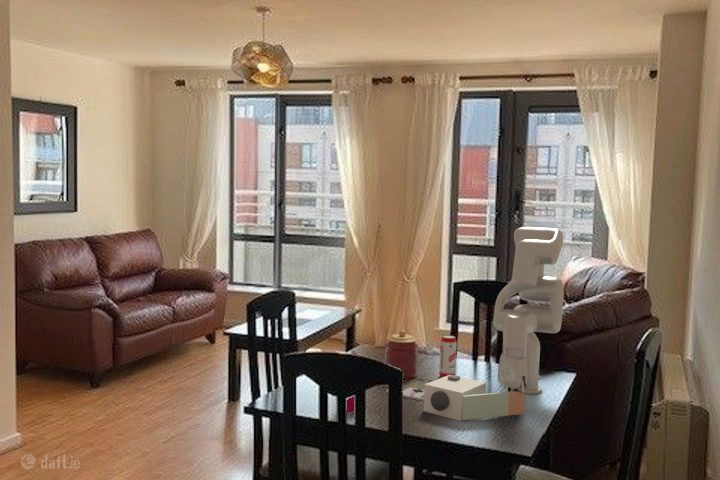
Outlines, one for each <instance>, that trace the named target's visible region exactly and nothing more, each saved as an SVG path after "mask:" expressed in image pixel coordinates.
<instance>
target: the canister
mask: <svg viewBox="0 0 720 480" xmlns="http://www.w3.org/2000/svg"><path fill="white" fill-rule="evenodd" d="M384 345H385V347H386V350H385V352H384V355H385V356H384V364H385V363H387V364H390V365H392V366H395V367H397V368H400V369H401V370H402V371H403V373H404V380H405V379H406V380H407V379H412V378H416V377H417V375H418V361H419V360H418V359H419V358H418V357H419V353H418V348H419V344H417V338H416V337H414V336H413V335H410V334H408V333H407V332H406V331H405V330H403V329H401V330H399V333H394V334H391V335H390V336H388V337H387V342H385V344H384Z"/></svg>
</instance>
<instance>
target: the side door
mask: <svg viewBox="0 0 720 480" xmlns="http://www.w3.org/2000/svg"><path fill="white" fill-rule="evenodd" d="M525 400H526V394H525V393H520V392H519V391H510V392H506V391H502V392H501V391H500V392H492V393H491V392H489V393H488V392H486V394H476V395H465V396H463V401H462V421H468V420H477V419H487V418H496V417H497V418H498V417H506V416H507V417H508V416H515V415H524V414H525V402H526V401H525Z"/></svg>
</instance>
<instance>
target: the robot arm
mask: <svg viewBox="0 0 720 480" xmlns="http://www.w3.org/2000/svg"><path fill="white" fill-rule="evenodd" d="M513 241H514V246H515V252H514V259H513V268H512V274H511V275H512V276H511V277H512V278H511V280H510V282H508V284H506V285H505V286H504V287H503V288H502V289H501V290H500V292H499V293H498V295H497V298H496V300H495V305H494V312H493V319H492V321H493V322H492V323H493V326H494V329H496V330H497V331H500V332H503V338H502V339H503V340H502V341H503V342H502V353H501V355H500V358H499V362H498V370H497V371H498V372H497V382H498V383H499V384H501V386H502V387H503V388H504V390H505V392H510V391H519V392H520V393H525V395H538V394H541V393H542V392H543V387H542V386H540V385H539V381H540V380H541V379H542V377H541V375H540V374H539V372H540V356H541V355H540V352H541V344H540V341H539V337H537V335H536V334H535V333H545V334H546V333H547V334H557V333H558V332H560V330H561V327H562V323H563V322H562V321H563V309H564V308H563V307H564V295H565V294H564V292H565V291H564V283H563V280H562V279H560V278H559V277H555V276H545V273H544V272H545V265H548V266H549V265H550V266H551V265H553V266H554V265H555V264H556V263H557V262H558V260H559V258H560V253H561V251H562V247H563V243H564V235H563V232H562V231H561V229H559V228H552V227H536V226H535V227H533V226H524V227H523V226H521V227H518V228H516V229H515V230H514V233H513ZM516 294H518V296H519V298H520V299H521V300H522V301H523V300H524V301H526V302H527V301H528V302H534V303H535V302H537V303H547V304H548V305H549V306H548V305H547V306H546V305H535V304H525V303H524V304H518V305H516V306H515V307H514V308H513V309H505V304H506V302H507V300H508V299H509V298H510V297H512V296H514V295H516Z"/></svg>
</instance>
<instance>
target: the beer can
mask: <svg viewBox="0 0 720 480" xmlns="http://www.w3.org/2000/svg"><path fill="white" fill-rule="evenodd" d="M456 339H457V338H456V336H455V335H451V334H450V335H448V334H444V335H442V336H441V339H440V344H439V345H440V346H439V347H440V348H439V350H440V351H439V367H438V368H439V371H438V375H439V376H440V378H443V377H445V376H448V375H456V368H457V367H456V366H457V365H456V364H457V340H456Z"/></svg>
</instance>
